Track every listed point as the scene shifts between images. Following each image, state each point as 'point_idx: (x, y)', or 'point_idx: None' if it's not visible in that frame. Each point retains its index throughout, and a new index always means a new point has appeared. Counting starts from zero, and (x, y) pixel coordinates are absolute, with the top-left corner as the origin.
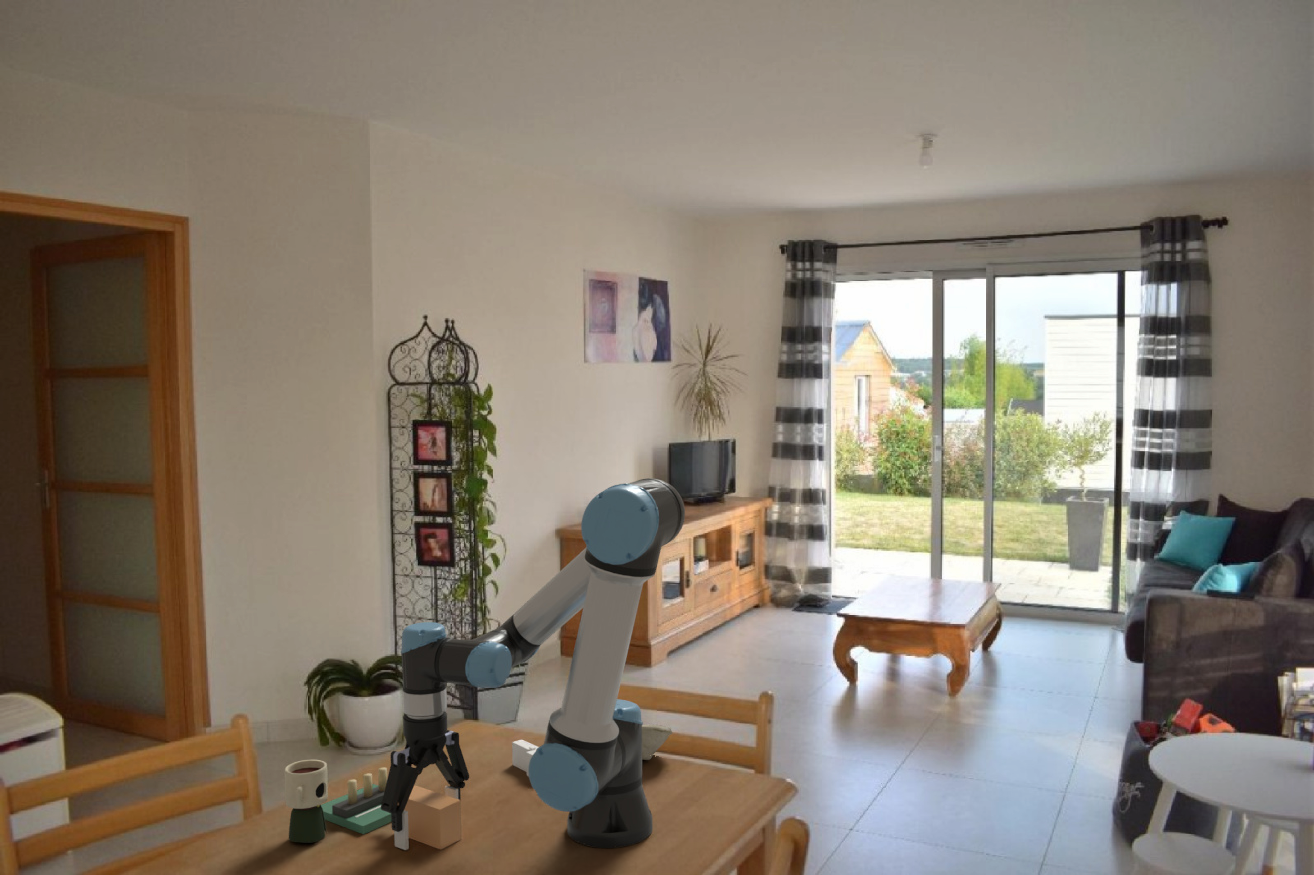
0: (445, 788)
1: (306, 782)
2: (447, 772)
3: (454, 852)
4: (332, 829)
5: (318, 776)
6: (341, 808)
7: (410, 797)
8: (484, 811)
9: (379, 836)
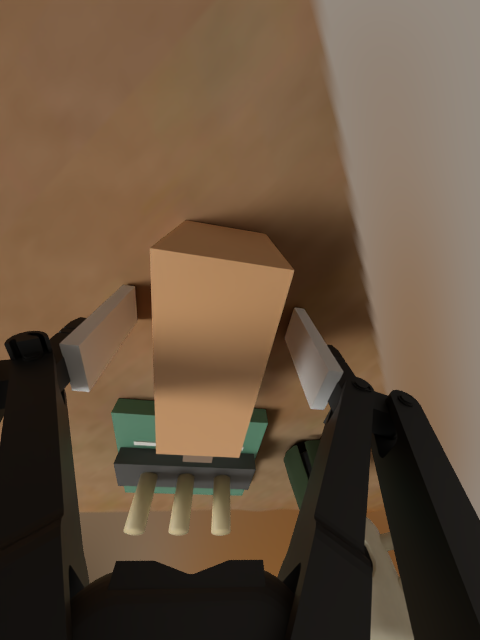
0: (91, 384)
1: (404, 601)
2: (60, 437)
3: (263, 182)
4: (267, 447)
5: (386, 614)
6: (251, 477)
7: (237, 420)
8: (10, 275)
9: (260, 386)
